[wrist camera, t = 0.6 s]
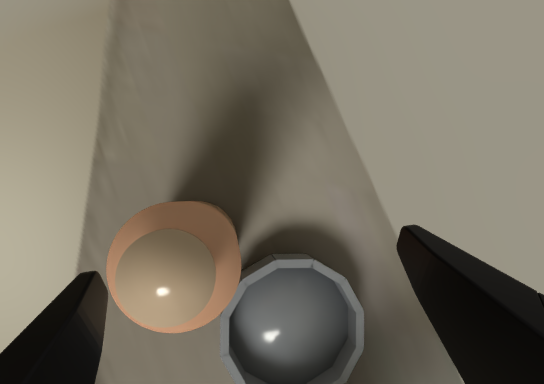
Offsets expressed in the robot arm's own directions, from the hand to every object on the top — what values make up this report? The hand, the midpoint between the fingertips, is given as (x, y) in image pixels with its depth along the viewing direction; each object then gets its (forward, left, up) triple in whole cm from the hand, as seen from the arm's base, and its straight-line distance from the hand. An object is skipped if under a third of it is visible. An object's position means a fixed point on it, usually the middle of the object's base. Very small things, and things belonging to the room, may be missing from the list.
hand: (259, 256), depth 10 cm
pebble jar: (0, +4, -16) cm, 16 cm away
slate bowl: (-9, +1, -16) cm, 18 cm away
